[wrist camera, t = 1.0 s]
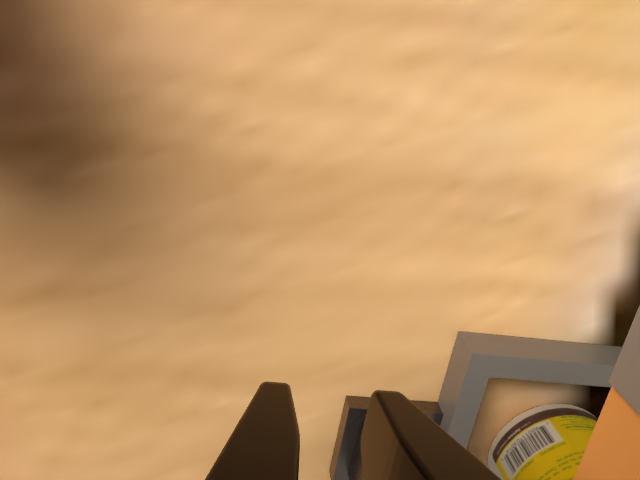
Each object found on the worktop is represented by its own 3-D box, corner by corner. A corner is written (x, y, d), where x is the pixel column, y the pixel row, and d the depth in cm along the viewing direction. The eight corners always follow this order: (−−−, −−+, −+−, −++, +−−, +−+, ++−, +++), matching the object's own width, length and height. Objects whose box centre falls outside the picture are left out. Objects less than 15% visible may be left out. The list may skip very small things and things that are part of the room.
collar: (610, 540, 30) (628, 568, 28) (399, 533, 28) (407, 563, 27) (696, 353, 26) (723, 375, 24) (458, 331, 24) (472, 353, 23)
